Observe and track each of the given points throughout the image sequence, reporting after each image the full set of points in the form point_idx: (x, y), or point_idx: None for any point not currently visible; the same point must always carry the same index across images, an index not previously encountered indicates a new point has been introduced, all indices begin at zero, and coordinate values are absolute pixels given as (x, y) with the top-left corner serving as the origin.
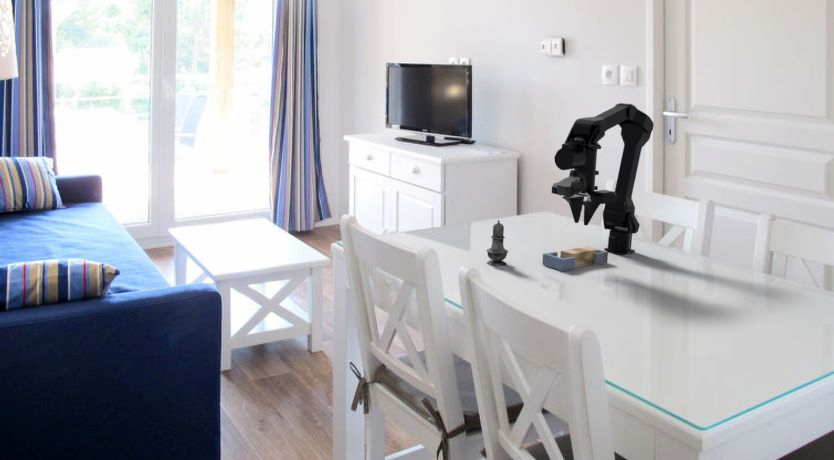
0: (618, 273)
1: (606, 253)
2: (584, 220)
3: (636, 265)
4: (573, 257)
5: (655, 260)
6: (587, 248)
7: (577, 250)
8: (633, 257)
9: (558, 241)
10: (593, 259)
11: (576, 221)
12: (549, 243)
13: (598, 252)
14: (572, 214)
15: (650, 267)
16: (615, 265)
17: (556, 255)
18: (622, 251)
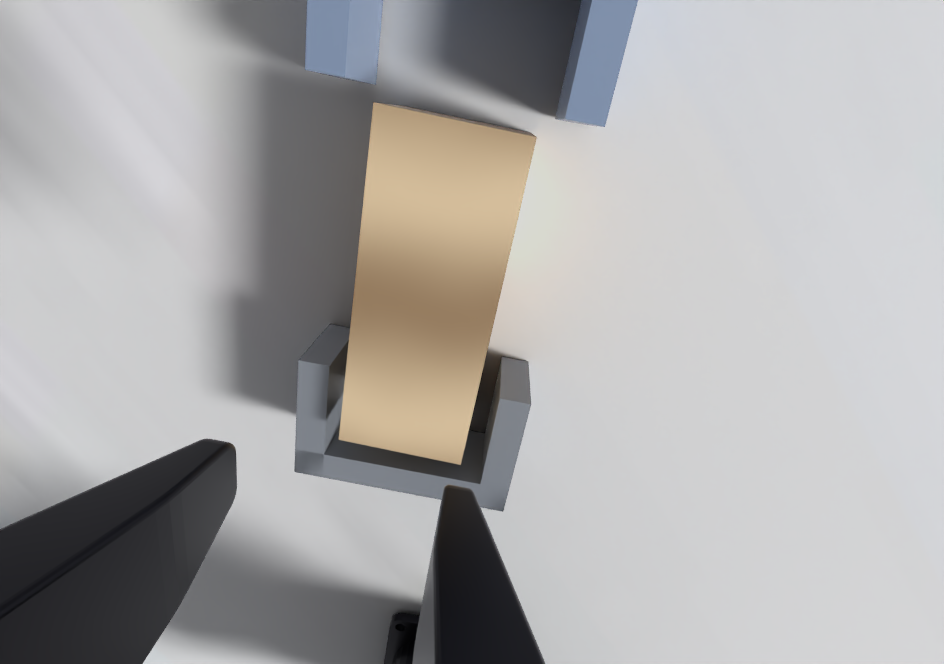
0: (89, 249)
1: (297, 454)
2: (149, 489)
3: None
4: (317, 57)
5: (215, 626)
6: (413, 410)
7: (425, 284)
8: (321, 611)
9: (855, 646)
10: (344, 344)
11: (439, 514)
12: (891, 580)
13: (370, 454)
14: (525, 620)
15: None
16: (253, 410)
17: (565, 102)
18: (404, 646)
